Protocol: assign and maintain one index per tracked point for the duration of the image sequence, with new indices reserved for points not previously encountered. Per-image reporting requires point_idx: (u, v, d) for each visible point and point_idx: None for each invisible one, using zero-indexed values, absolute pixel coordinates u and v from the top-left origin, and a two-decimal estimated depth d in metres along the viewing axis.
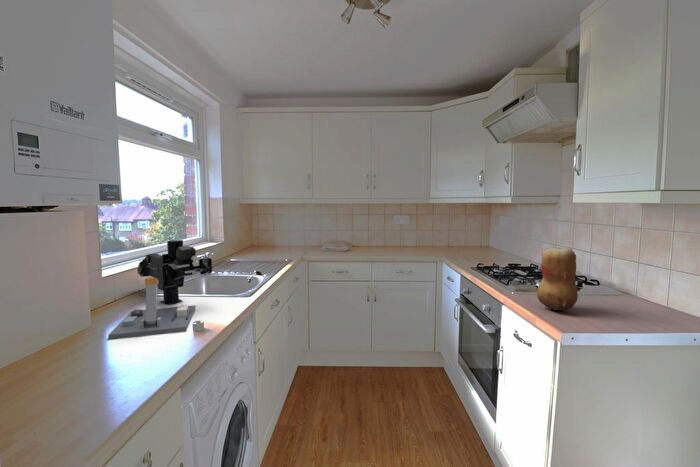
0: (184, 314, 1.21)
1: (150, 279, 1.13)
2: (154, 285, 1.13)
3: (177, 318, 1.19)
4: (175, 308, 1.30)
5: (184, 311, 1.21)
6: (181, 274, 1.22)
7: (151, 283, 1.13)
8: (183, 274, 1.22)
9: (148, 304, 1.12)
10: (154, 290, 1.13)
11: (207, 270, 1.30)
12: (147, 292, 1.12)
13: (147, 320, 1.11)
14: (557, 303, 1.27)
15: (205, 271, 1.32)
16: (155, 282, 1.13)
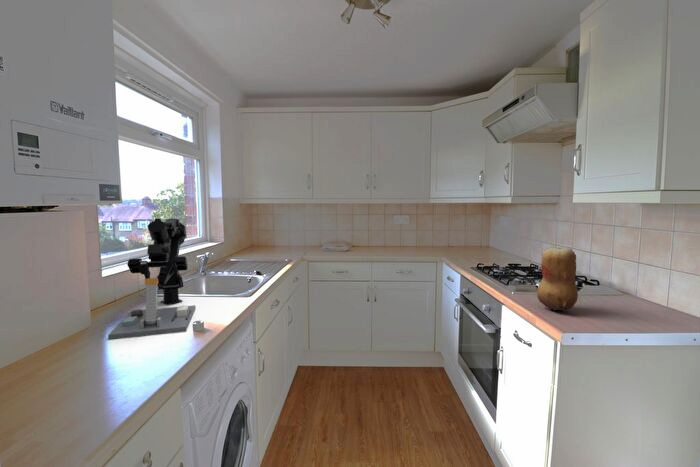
0: (184, 314, 1.21)
1: (150, 279, 1.13)
2: (154, 285, 1.13)
3: (177, 318, 1.19)
4: (175, 308, 1.30)
5: (184, 311, 1.21)
6: None
7: (151, 283, 1.13)
8: None
9: (148, 304, 1.12)
10: (154, 290, 1.13)
11: None
12: (147, 292, 1.12)
13: (147, 320, 1.11)
14: (557, 303, 1.27)
15: None
16: (155, 282, 1.13)
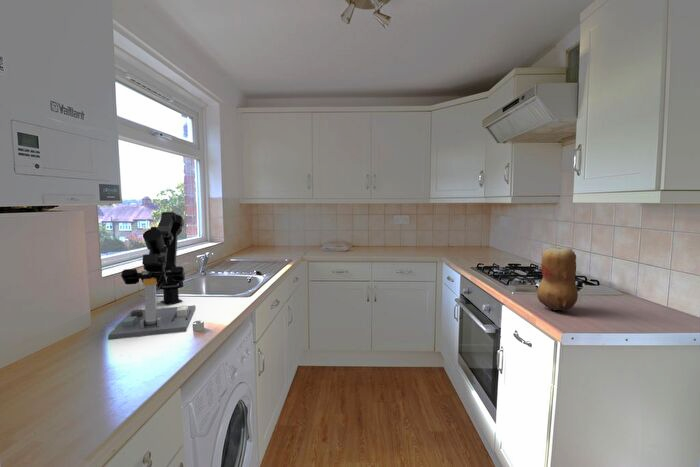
0: (184, 314, 1.21)
1: (148, 280, 1.11)
2: (153, 286, 1.12)
3: (177, 318, 1.19)
4: (175, 308, 1.30)
5: (184, 311, 1.21)
6: None
7: (150, 284, 1.11)
8: None
9: (147, 305, 1.11)
10: (153, 291, 1.12)
11: None
12: (146, 293, 1.11)
13: (147, 320, 1.11)
14: (557, 303, 1.27)
15: None
16: (154, 283, 1.11)
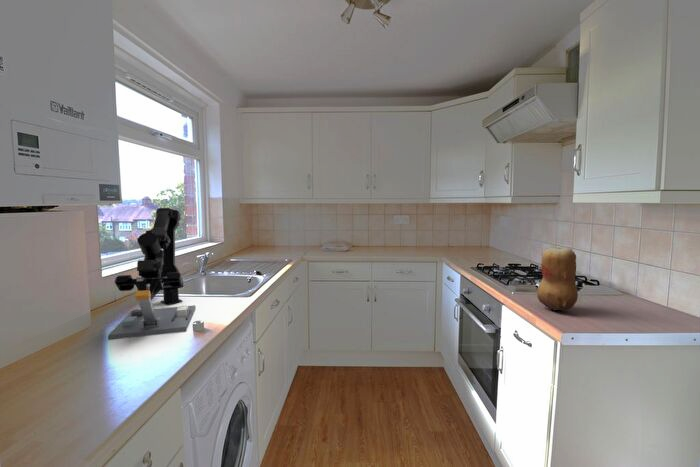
0: (184, 314, 1.21)
1: (141, 296, 1.03)
2: (147, 299, 1.04)
3: (177, 318, 1.19)
4: (175, 308, 1.30)
5: (184, 311, 1.21)
6: None
7: (143, 299, 1.03)
8: None
9: (144, 313, 1.08)
10: (148, 303, 1.05)
11: None
12: (141, 304, 1.05)
13: (147, 323, 1.11)
14: (557, 303, 1.27)
15: None
16: (147, 298, 1.04)
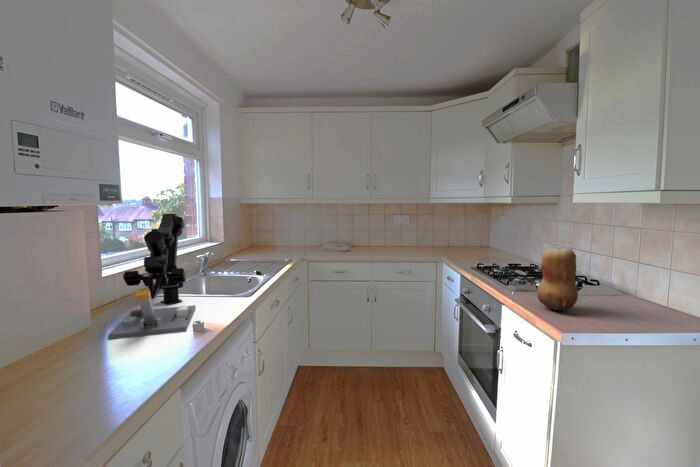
0: (184, 314, 1.21)
1: (141, 296, 1.03)
2: (147, 299, 1.04)
3: (177, 318, 1.19)
4: (175, 308, 1.30)
5: (184, 311, 1.21)
6: None
7: (143, 299, 1.03)
8: (151, 297, 1.15)
9: (144, 313, 1.08)
10: (148, 303, 1.05)
11: None
12: (141, 304, 1.05)
13: (147, 323, 1.11)
14: (557, 303, 1.27)
15: None
16: (147, 298, 1.04)
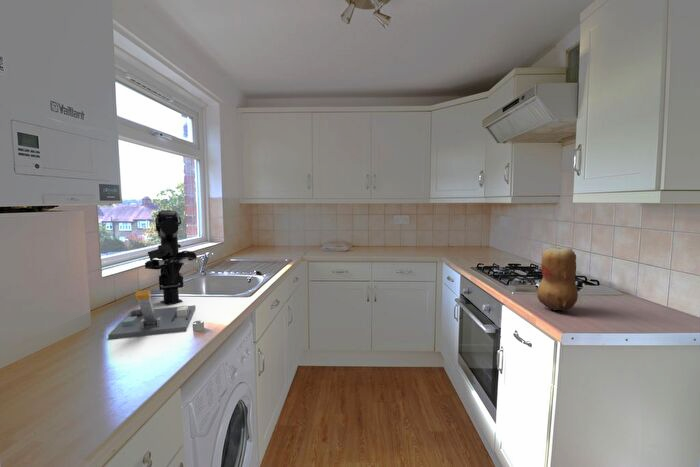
0: (184, 314, 1.21)
1: (141, 296, 1.03)
2: (147, 299, 1.04)
3: (177, 318, 1.19)
4: (175, 308, 1.30)
5: (184, 311, 1.21)
6: None
7: (143, 299, 1.03)
8: None
9: (144, 313, 1.08)
10: (148, 303, 1.05)
11: None
12: (141, 304, 1.05)
13: (147, 323, 1.11)
14: (557, 303, 1.27)
15: None
16: (147, 298, 1.04)
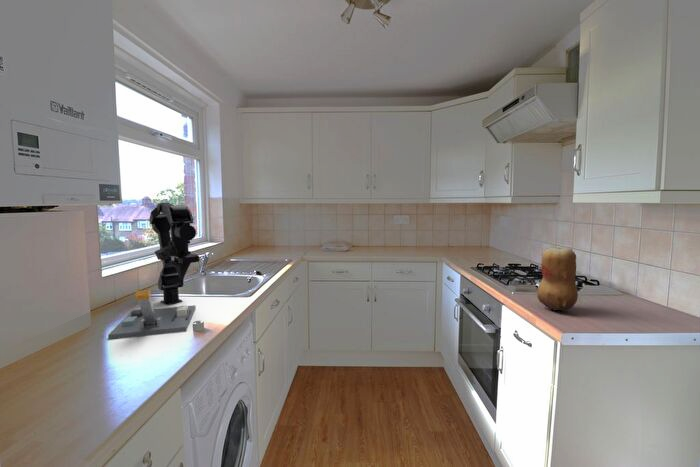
0: (184, 314, 1.21)
1: (141, 296, 1.03)
2: (147, 299, 1.04)
3: (177, 318, 1.19)
4: (175, 308, 1.30)
5: (184, 311, 1.21)
6: None
7: (143, 299, 1.03)
8: None
9: (144, 313, 1.08)
10: (148, 303, 1.05)
11: None
12: (141, 304, 1.05)
13: (147, 323, 1.11)
14: (557, 303, 1.27)
15: None
16: (147, 298, 1.04)
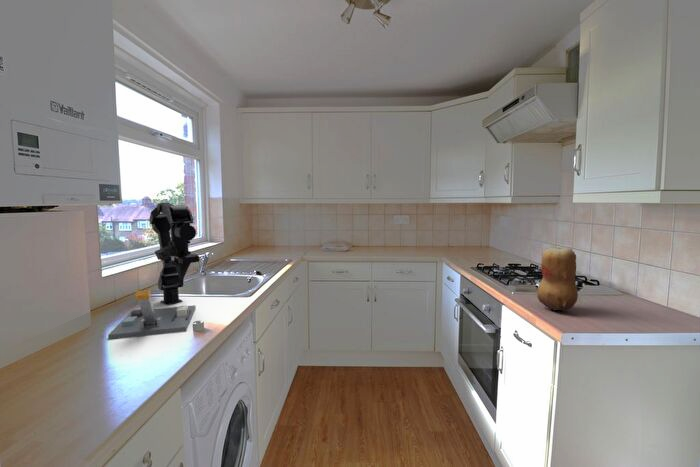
0: (184, 314, 1.21)
1: (141, 296, 1.03)
2: (147, 299, 1.04)
3: (177, 318, 1.19)
4: (175, 308, 1.30)
5: (184, 311, 1.21)
6: None
7: (143, 299, 1.03)
8: None
9: (144, 313, 1.08)
10: (148, 303, 1.05)
11: None
12: (141, 304, 1.05)
13: (147, 323, 1.11)
14: (557, 303, 1.27)
15: None
16: (147, 298, 1.04)
